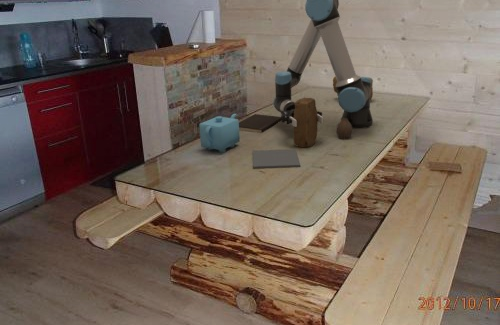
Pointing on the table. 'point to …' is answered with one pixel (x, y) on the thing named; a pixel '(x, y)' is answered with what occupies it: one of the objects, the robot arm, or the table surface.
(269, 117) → the hardcover book
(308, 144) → the block
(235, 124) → the teapot
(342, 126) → the vase
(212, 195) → the table surface
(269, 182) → the table surface
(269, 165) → the mat
